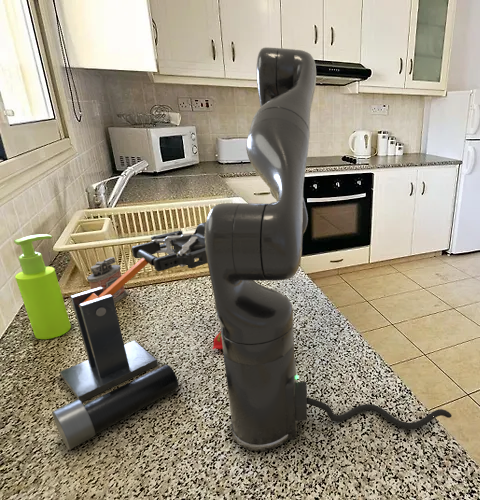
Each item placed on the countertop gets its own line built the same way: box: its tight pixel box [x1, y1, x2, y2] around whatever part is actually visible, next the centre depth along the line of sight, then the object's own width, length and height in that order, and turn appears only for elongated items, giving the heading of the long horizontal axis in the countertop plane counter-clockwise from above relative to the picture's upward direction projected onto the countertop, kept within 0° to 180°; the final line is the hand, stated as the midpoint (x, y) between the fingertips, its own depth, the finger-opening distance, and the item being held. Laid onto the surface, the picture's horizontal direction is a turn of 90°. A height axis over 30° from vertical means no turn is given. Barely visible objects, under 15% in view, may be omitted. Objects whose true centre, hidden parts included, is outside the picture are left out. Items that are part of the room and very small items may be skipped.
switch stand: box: [59, 287, 158, 403], centre depth 62 cm, size 12×9×15 cm
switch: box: [79, 250, 159, 307], centre depth 63 cm, size 13×6×2 cm
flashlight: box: [51, 363, 179, 451], centre depth 55 cm, size 15×6×6 cm, turn 141°
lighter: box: [86, 256, 127, 304], centre depth 86 cm, size 8×3×10 cm, turn 168°
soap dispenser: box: [13, 233, 72, 340], centre depth 73 cm, size 6×7×20 cm
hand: (143, 259), depth 65 cm, fingers open, 8 cm apart
